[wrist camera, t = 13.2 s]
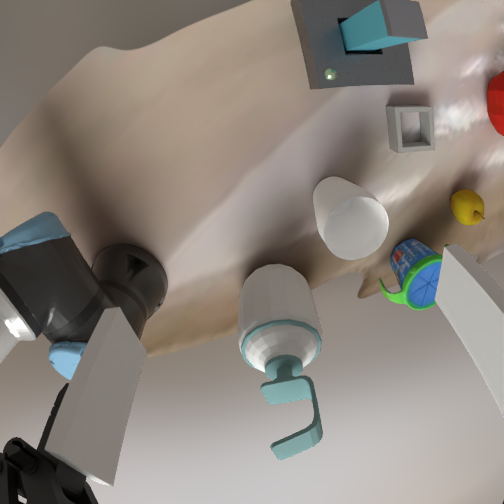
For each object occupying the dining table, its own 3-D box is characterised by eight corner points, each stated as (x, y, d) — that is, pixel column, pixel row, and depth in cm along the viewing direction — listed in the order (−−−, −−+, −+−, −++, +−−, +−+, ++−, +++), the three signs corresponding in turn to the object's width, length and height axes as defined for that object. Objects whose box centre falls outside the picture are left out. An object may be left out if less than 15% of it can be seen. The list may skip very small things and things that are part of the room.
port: (310, 89, 37) (319, 88, 32) (290, 3, 30) (296, -10, 25) (396, 84, 35) (415, 84, 30) (379, 2, 28) (395, -7, 23)
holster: (390, 149, 41) (398, 153, 38) (385, 105, 37) (394, 107, 35) (425, 146, 40) (434, 150, 38) (422, 105, 37) (432, 106, 34)
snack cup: (438, 218, 47) (468, 245, 38) (439, 262, 52) (464, 292, 43) (366, 245, 49) (388, 278, 41) (373, 289, 54) (392, 324, 46)
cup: (345, 158, 42) (376, 182, 31) (367, 206, 46) (397, 240, 35) (294, 186, 44) (309, 217, 34) (319, 231, 48) (338, 272, 38)
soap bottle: (230, 266, 51) (218, 439, 24) (301, 249, 50) (348, 419, 23) (250, 317, 57) (252, 472, 30) (312, 303, 56) (348, 456, 29)
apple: (467, 208, 46) (491, 226, 39) (444, 218, 47) (467, 238, 40) (466, 178, 43) (492, 194, 36) (441, 187, 44) (467, 204, 37)
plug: (338, 53, 33) (392, 34, 18) (333, 28, 31) (383, -3, 16) (364, 52, 32) (428, 38, 18) (359, 28, 30) (418, 2, 16)
